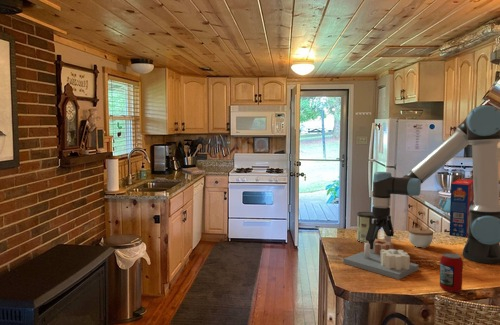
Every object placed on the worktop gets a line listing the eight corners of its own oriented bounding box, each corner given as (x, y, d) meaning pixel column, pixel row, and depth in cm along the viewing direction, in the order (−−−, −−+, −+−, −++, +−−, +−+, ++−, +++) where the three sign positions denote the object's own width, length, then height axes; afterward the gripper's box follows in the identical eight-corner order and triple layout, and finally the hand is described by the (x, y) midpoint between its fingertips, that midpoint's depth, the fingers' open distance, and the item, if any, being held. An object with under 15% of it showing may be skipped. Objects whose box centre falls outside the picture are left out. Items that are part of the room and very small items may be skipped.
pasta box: (466, 237, 198) (468, 184, 196) (449, 235, 202) (451, 183, 201) (472, 227, 220) (474, 180, 218) (457, 225, 225) (458, 179, 223)
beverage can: (435, 285, 133) (436, 252, 132) (453, 285, 134) (455, 251, 133) (447, 293, 126) (448, 258, 126) (466, 292, 127) (467, 258, 126)
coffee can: (376, 238, 195) (377, 211, 194) (379, 244, 185) (379, 215, 184) (355, 237, 197) (356, 211, 196) (357, 243, 187) (357, 215, 186)
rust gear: (395, 253, 170) (395, 242, 170) (384, 258, 163) (384, 246, 163) (375, 248, 177) (376, 238, 177) (364, 253, 171) (365, 242, 170)
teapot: (447, 209, 278) (447, 194, 277) (469, 212, 266) (469, 197, 265) (437, 211, 268) (437, 196, 268) (459, 215, 257) (460, 199, 256)
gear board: (418, 269, 149) (419, 249, 149) (398, 279, 139) (399, 258, 138) (364, 255, 167) (364, 237, 167) (343, 263, 157) (343, 244, 156)
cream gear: (402, 261, 153) (402, 249, 152) (411, 269, 143) (411, 256, 143) (378, 261, 153) (378, 249, 153) (385, 269, 144) (385, 256, 143)
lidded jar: (422, 242, 188) (423, 224, 187) (437, 248, 178) (438, 229, 177) (403, 244, 186) (404, 225, 185) (418, 250, 175) (418, 230, 175)
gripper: (387, 202, 180) (385, 245, 181) (358, 208, 163) (356, 256, 165) (402, 204, 174) (400, 249, 176) (374, 211, 158) (372, 260, 159)
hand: (379, 253), depth 170 cm, fingers open, 13 cm apart
